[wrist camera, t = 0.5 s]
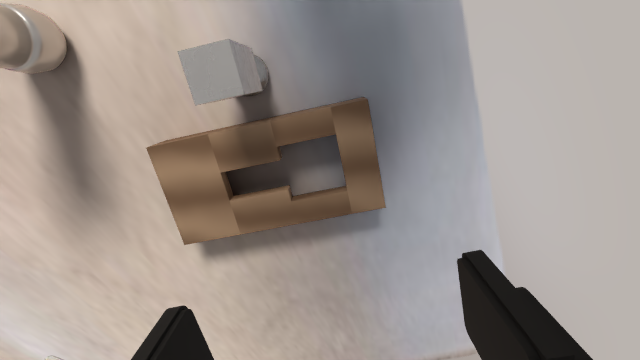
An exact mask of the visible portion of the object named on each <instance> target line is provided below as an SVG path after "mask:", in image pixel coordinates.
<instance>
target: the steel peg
mask: <svg viewBox="0 0 640 360" xmlns="http://www.w3.org/2000/svg"><path fill="white" fill-rule="evenodd" d="M177 52H178V55H179V58H180V61H181V64H182V67H183V70H184V73H185V76H186V79H187V82H188V85H189V88H190V91H191V94H192V97H193V100H194V103H195V105H200V104H205V103H210V102H215V101H220V100H225V99H230V98H234V97H238V96H253V95H257V94H259V93H261V92H262V91H263V90H264V89H265V87H266V86H267V84H268V80H269V72H268V69H267V66H266V64H265V63H264V62H263V60H262V59H260V58H259V57H258V56H256V55H253V52H252V48H250V47H248V46H245V45H243V44H240V43H238V42H235V41H233V40H230V39H226V40H222V41H218V42H214V43H210V44H206V45H202V46H198V47H194V48H190V49H185V50H181V51H177Z"/></svg>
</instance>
